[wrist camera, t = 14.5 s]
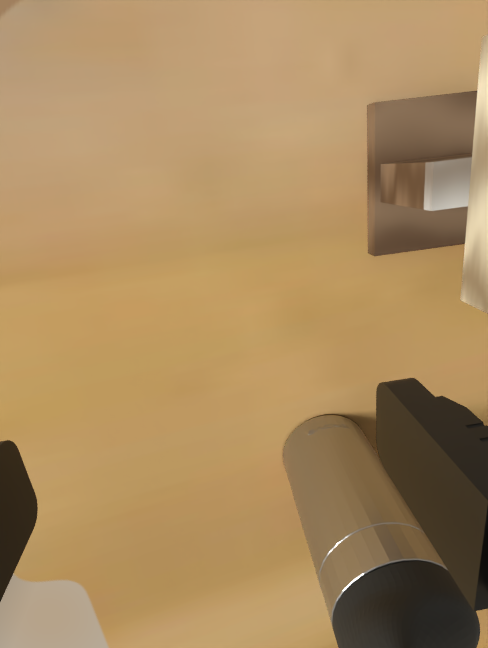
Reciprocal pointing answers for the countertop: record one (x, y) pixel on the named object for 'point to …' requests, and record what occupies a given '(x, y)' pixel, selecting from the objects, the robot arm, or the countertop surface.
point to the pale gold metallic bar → (478, 200)
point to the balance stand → (419, 171)
